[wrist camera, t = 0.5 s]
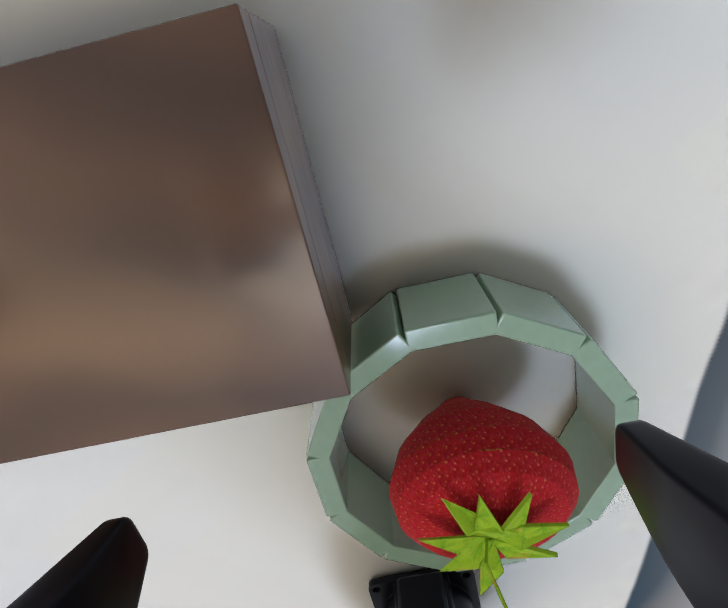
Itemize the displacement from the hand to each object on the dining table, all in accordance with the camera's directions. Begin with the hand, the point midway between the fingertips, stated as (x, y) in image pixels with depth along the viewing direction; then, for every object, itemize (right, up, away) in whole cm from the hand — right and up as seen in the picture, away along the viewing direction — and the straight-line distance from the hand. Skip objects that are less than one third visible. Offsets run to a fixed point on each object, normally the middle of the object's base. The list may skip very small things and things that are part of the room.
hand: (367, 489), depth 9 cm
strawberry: (+5, -2, +16) cm, 17 cm away
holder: (+5, -2, +16) cm, 16 cm away
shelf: (-9, +7, +12) cm, 16 cm away
